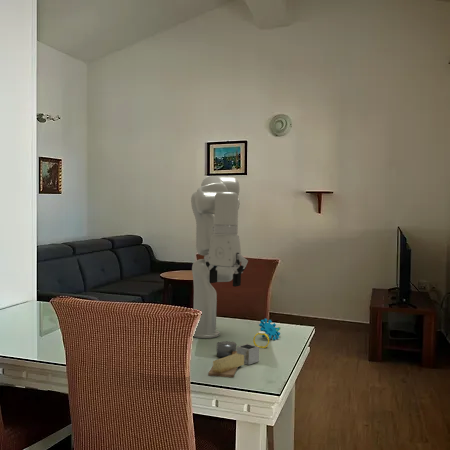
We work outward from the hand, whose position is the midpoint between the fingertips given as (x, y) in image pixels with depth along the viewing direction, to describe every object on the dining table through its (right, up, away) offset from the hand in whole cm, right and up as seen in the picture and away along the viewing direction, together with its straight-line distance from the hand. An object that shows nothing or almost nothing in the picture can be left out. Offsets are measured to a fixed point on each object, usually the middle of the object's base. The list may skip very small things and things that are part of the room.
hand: (224, 284), depth 155 cm
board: (-1, -28, +1) cm, 28 cm away
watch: (+14, -28, +31) cm, 44 cm away
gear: (+19, -28, +45) cm, 56 cm away
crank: (+4, -28, +16) cm, 32 cm away
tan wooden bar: (-2, -26, -2) cm, 26 cm away
